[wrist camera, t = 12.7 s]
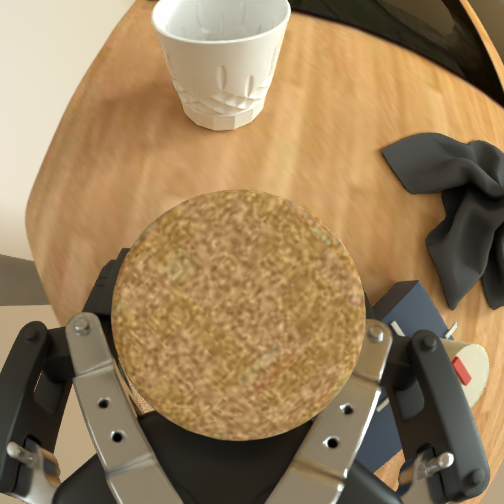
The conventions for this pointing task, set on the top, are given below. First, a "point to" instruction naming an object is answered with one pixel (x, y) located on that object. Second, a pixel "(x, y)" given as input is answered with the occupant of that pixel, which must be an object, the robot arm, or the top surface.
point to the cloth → (459, 209)
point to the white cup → (221, 55)
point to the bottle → (238, 315)
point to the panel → (383, 423)
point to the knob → (468, 367)
